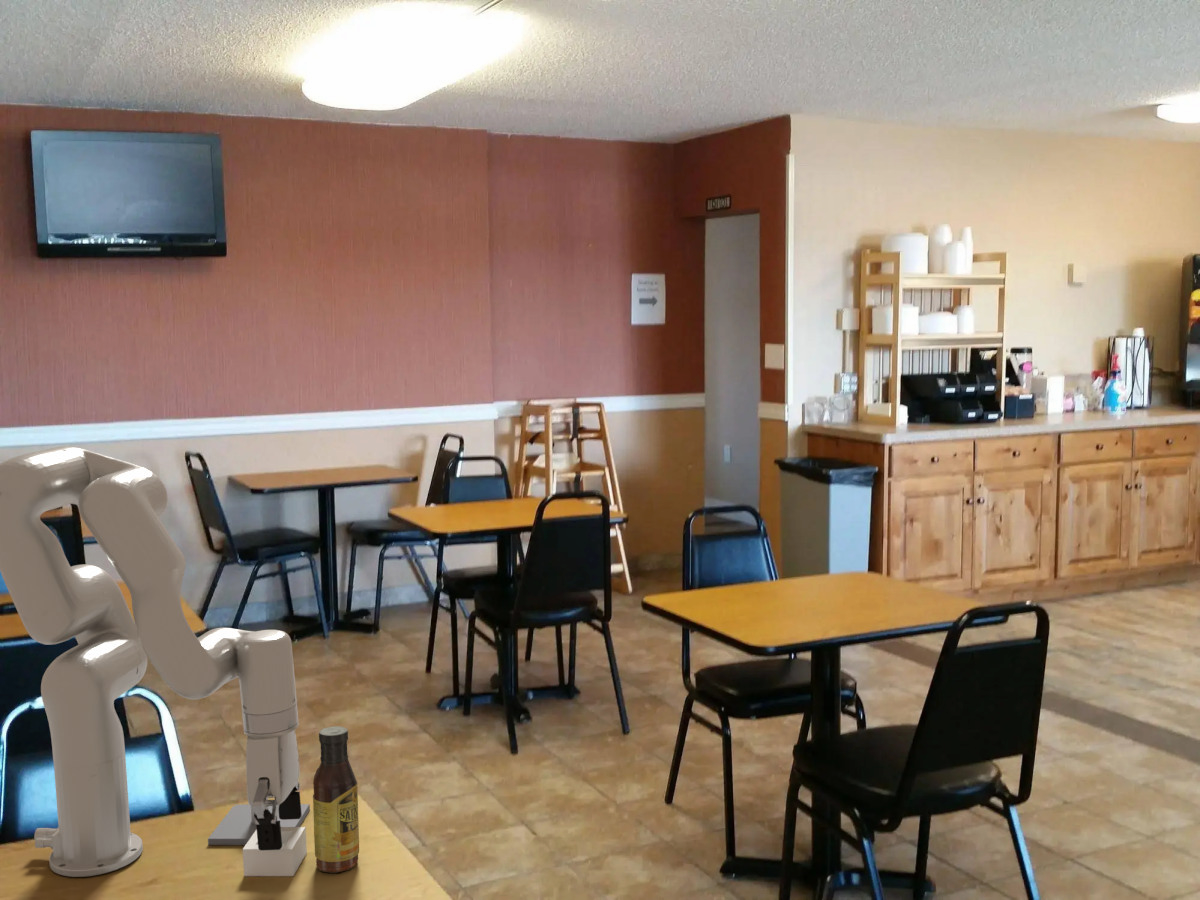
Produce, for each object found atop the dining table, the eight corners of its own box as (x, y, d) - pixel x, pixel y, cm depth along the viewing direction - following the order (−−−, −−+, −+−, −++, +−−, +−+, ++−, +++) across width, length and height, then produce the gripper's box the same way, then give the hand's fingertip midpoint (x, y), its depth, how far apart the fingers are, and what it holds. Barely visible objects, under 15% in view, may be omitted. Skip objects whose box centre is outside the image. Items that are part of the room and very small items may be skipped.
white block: (244, 876, 167) (242, 849, 166) (259, 852, 174) (258, 827, 173) (293, 876, 167) (291, 849, 166) (306, 852, 174) (305, 827, 173)
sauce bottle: (349, 877, 166) (343, 741, 164) (307, 873, 167) (301, 738, 165) (367, 855, 173) (362, 724, 170) (327, 852, 174) (321, 722, 171)
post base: (208, 845, 177) (205, 800, 176) (235, 810, 188) (232, 768, 188) (288, 845, 176) (285, 800, 175) (309, 810, 188) (307, 768, 187)
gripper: (263, 699, 176) (273, 808, 178) (223, 742, 159) (234, 862, 161) (313, 697, 176) (322, 806, 178) (278, 740, 159) (289, 861, 161)
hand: (280, 833), depth 170 cm, fingers open, 9 cm apart
